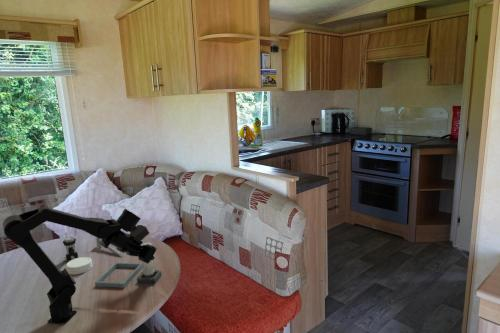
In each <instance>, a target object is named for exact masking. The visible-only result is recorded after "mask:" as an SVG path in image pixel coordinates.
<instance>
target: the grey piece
mask: <svg viewBox="0 0 500 333" xmlns="http://www.w3.org/2000/svg"><path fill="white" fill-rule="evenodd" d="M154 272H155V273H154V274H153V275H150V276H145V275H144V273H143V271H142V272H141V273H140V274H139V275H138V276H137V278H136V283H135V284H134V286H140V287H141V286H142V287H144V286H145V287H155V286H156V285H157V283H158V282H159V280H160V279H161V278H162V276H163V275H164V272H162V270H159V269H154Z"/></svg>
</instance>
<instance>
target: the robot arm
mask: <svg viewBox="0 0 500 333" xmlns="http://www.w3.org/2000/svg"><path fill="white" fill-rule="evenodd" d="M141 220H142V218H141V217H140V216H138V215H136V214H135V213H134V212H132V211H129V210H128V209H127V208H124V209H123V210H122V213H121V214H120V215H119V217H118V218H117V219H114V218H113V219H104V218H100V217H84V216H80V215H77V214H74V213H69V212H65V211H63V210H58V209H54V208H51V207H49V206H46V205H44V206H41V207H37V208H36V209H33V210H29V211H26V212H23V213H21V214H18V215H17V214H12V215H10V216H7V217H6V218H5V219H4V220H3V222H2V229H3V233H4V235H5V236H6V237H7V238H8V239H9V240H10V241H12V242H13V243H14V244H15V245H17V246H19V247H21V249H23V250H24V251H25V253H26V254H27V255H28V256H29V257H30V259H31V260H32V261H33V262H34V263H35V265H37V267H38V268H39V269H40V271H41V272H42V273H43V274H44V276H46V277H47V279H48V281H49V282H50V285H51V288H49V290H48V292H47V293H46V296H47V299H48V302H49V305H48V309H49V314H50V318H49V319H48V320H47V323H48V324H56V325H57V324H58V325H65V324H66V323H68V322H69V321H70V320H71V319H72V318H73V317H74V316H75V315H76V314H77V313H78V312H77V310H75V309H74V308H73V303H72V297H73V296H74V294H75V293H76V290H77V287H76V284H77V282H76V281H75V279H74V277H73V276H72V274H69V273H68V272H67V269H66V268H67V267H66V268H64V269H62V270H61V269H59V268H58V266H57V265H56V264H55V263H54V261H52V260H51V258H50V257H49V256H48V255H47V253H46V252H45V250H43V248H42V247H41V246H40V244H39V243H38V242H37V240H35V238H34V237H33V235H32V233H31V231H32V230H34V229H36V228H38V227H39V226H40V225H42V224H44V223H47V222H48V223H53V224H57V225H60V226H65V227H68V228H73V229H77V230H80V231H83V232H85V233H87V234H89V235H91V236H93V237H95V238H100V239H101V240H102V243H101V244H102V245H103V246H104V247H105V249H107V248H108V246H109V245H110V246H113V247H115V249H116V250H117V251H118V252H120V253H122V254H126V255H128V256H130V257H137V258H138V260H139V261H141V262H142V263H143V262H145V263H147V264H148V263H149V262H150V261H151V260H153V261H154V260H155V258H156V257H155V256H154V255H155V253H156V252H157V247H155V246H154V245H153V244H152V245H149V244H146V245H143V246H141V245H142V244H144V243H143V240H144V239H146V238H145V237H148V235H149V234H150V231H149V229H148V228H147V226H145V225H142V224H138V223H139V222H140V221H141ZM122 230H123V231H122ZM128 232H129V233H128ZM103 246H102V247H103ZM104 247H103V248H104ZM142 248H143V249H142Z"/></svg>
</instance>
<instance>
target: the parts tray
mask: <svg viewBox="0 0 500 333" xmlns="http://www.w3.org/2000/svg"><path fill="white" fill-rule="evenodd" d="M117 268H127V269H128V268H130V269H131V268H132V269H133V268H134V270H133V271H132V272H131V273H130V274H129V276H127V278H126V279H125V280H124V281H121V282H120V281H105V280H106V279H107V278H108V277H109V276H110V275H112V273H113V272H114V271H115V270H116V269H117ZM142 269H143V262H139V263H138V262H115V263H113V265H111V267H109V269H107V271H105V273H103V274H102V275H101V276H99V278H97V279H96V281H95V282H94V285H95V288H96V287H97V288H98V287H99V288H101V287H103V288H121V289H125V288H127V286H128V284H130V282H131V281H133V279H134V278H135V277H136V276H137V275H138V273H139V272H140V271H141V270H142Z"/></svg>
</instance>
